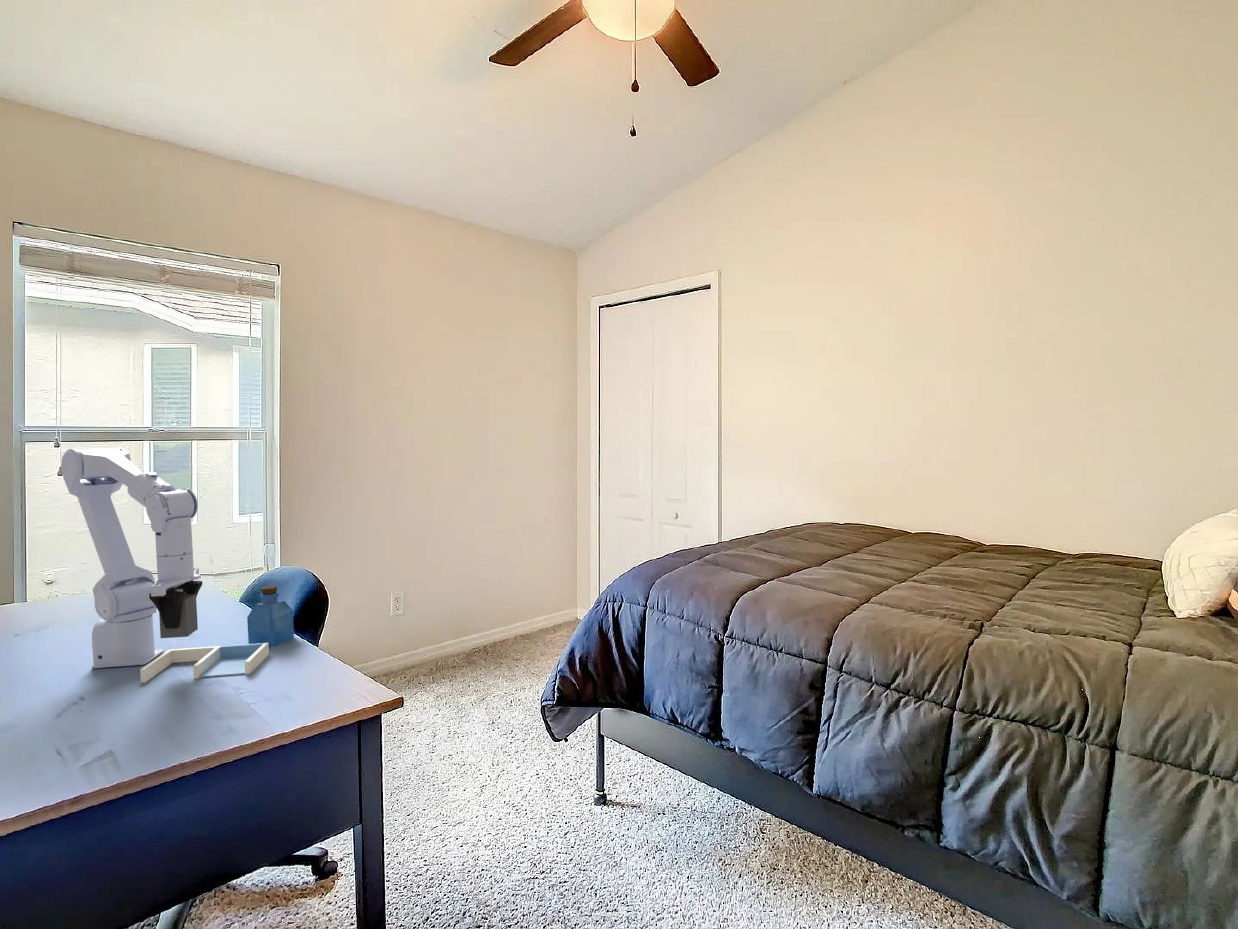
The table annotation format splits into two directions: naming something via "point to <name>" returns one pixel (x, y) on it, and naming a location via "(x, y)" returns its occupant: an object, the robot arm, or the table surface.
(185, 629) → the plug
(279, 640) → the perfume bottle
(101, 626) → the robot arm
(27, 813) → the table surface
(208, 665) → the two-rail blue tray
